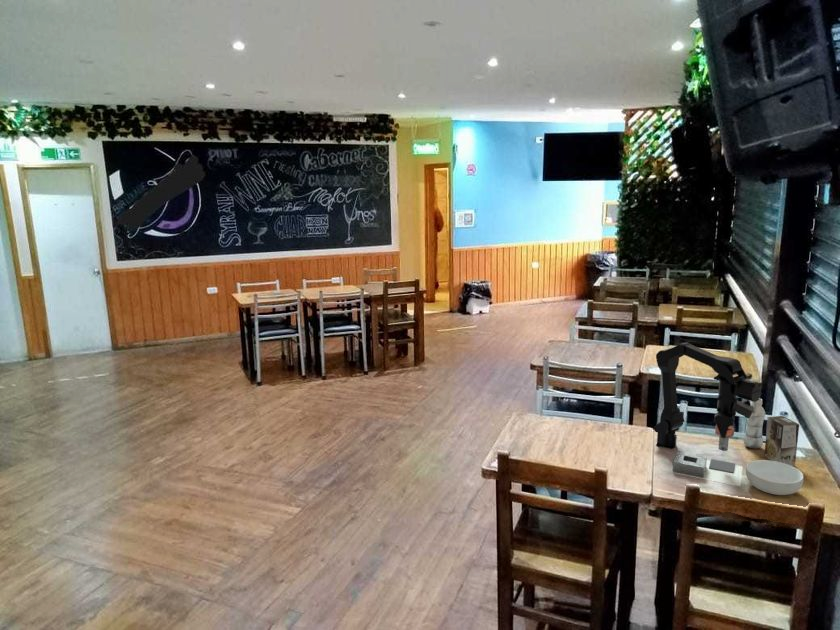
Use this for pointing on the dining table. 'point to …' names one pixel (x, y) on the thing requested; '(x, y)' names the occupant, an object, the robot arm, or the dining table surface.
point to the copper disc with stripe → (724, 441)
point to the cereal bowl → (774, 477)
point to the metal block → (690, 464)
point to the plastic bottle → (755, 426)
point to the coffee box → (781, 440)
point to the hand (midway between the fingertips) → (724, 434)
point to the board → (722, 475)
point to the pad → (722, 466)
